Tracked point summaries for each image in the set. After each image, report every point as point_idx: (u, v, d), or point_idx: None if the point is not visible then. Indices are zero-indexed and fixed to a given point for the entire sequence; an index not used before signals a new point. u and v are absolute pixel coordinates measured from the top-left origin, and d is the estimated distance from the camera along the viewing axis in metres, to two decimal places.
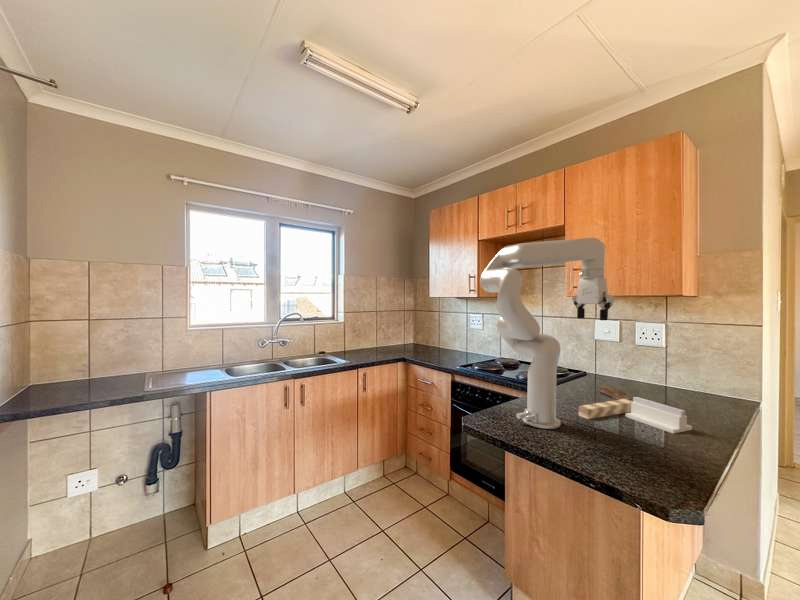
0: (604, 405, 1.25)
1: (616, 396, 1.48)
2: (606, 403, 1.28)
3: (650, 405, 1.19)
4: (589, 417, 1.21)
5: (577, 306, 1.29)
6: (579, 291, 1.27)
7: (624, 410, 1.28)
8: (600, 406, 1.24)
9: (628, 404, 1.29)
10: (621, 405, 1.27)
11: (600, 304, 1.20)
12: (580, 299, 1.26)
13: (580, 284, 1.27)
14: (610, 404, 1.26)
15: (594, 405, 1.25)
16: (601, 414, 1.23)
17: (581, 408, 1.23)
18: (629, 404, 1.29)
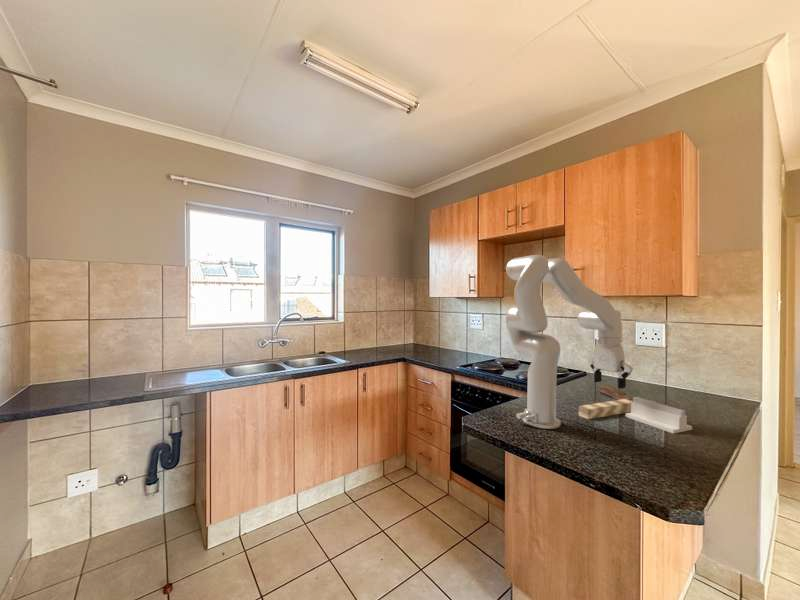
0: (604, 405, 1.25)
1: (616, 396, 1.48)
2: (606, 403, 1.28)
3: (650, 405, 1.19)
4: (589, 417, 1.21)
5: (594, 370, 1.32)
6: (596, 356, 1.29)
7: (625, 410, 1.28)
8: (601, 406, 1.24)
9: (628, 404, 1.29)
10: (621, 405, 1.27)
11: (618, 373, 1.23)
12: (597, 364, 1.29)
13: (597, 350, 1.29)
14: (610, 404, 1.26)
15: (594, 405, 1.25)
16: (601, 414, 1.23)
17: (581, 408, 1.23)
18: (629, 404, 1.29)
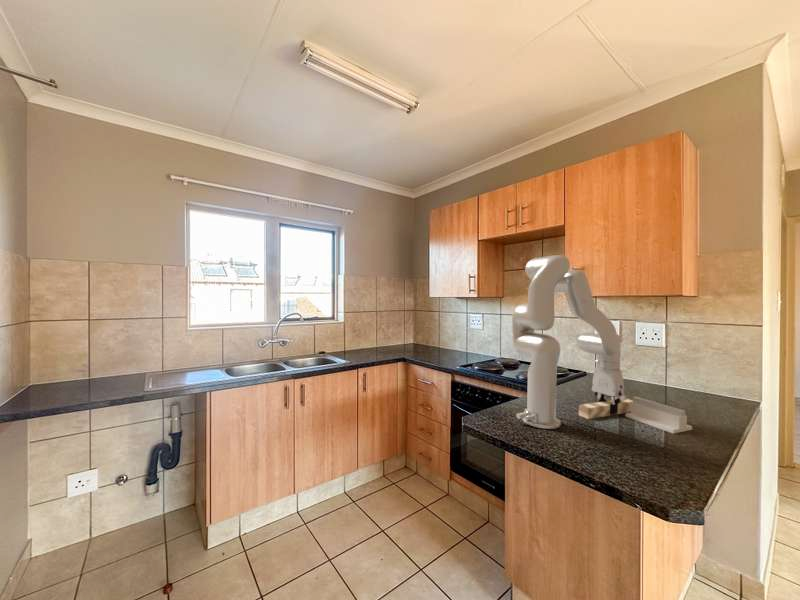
0: (604, 404, 1.25)
1: None
2: (606, 402, 1.28)
3: (650, 405, 1.19)
4: (589, 416, 1.21)
5: (598, 397, 1.30)
6: (595, 380, 1.29)
7: (625, 409, 1.28)
8: (601, 405, 1.24)
9: (629, 403, 1.29)
10: (622, 404, 1.27)
11: (612, 398, 1.24)
12: (596, 388, 1.29)
13: (596, 373, 1.29)
14: (610, 403, 1.26)
15: (594, 404, 1.25)
16: (601, 413, 1.23)
17: (581, 407, 1.24)
18: (630, 403, 1.29)
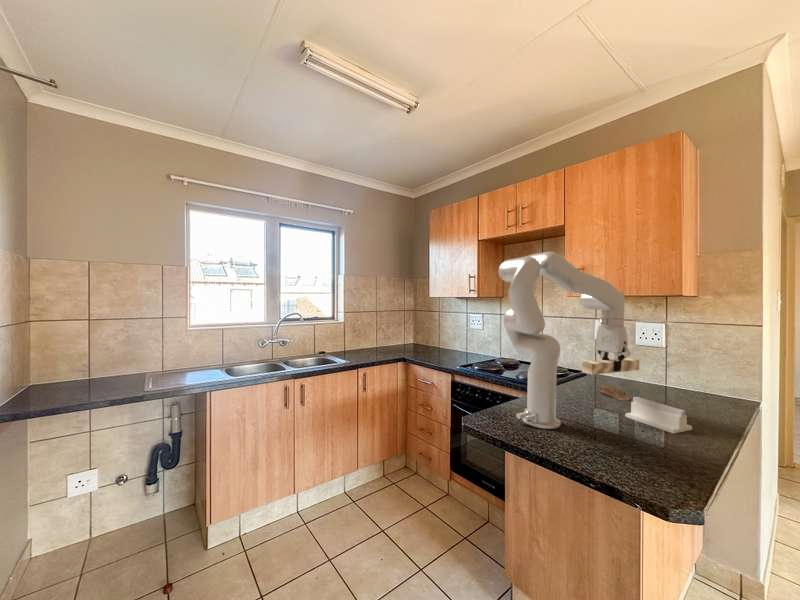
0: (608, 361, 1.24)
1: (616, 396, 1.48)
2: (610, 360, 1.27)
3: (650, 405, 1.19)
4: (593, 372, 1.20)
5: (602, 356, 1.29)
6: (598, 338, 1.28)
7: (629, 367, 1.27)
8: (604, 362, 1.23)
9: (632, 362, 1.28)
10: (625, 362, 1.26)
11: (616, 355, 1.23)
12: (599, 346, 1.28)
13: (599, 331, 1.28)
14: None
15: (598, 361, 1.24)
16: (605, 369, 1.22)
17: (584, 363, 1.23)
18: (633, 362, 1.28)
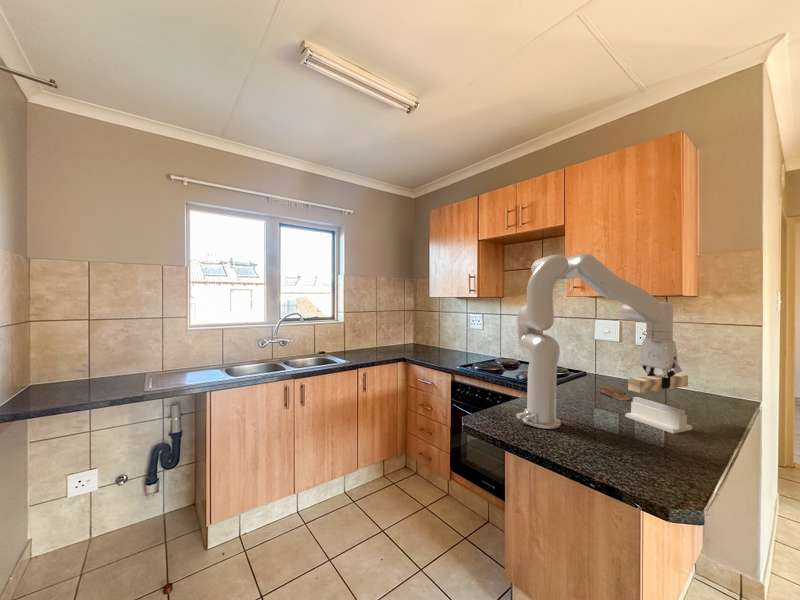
0: (655, 378, 1.16)
1: (616, 396, 1.48)
2: (657, 376, 1.18)
3: (650, 405, 1.19)
4: (641, 390, 1.12)
5: (647, 372, 1.20)
6: (644, 352, 1.20)
7: (677, 383, 1.18)
8: (652, 379, 1.14)
9: (681, 377, 1.19)
10: (674, 378, 1.18)
11: (664, 371, 1.15)
12: (645, 361, 1.19)
13: (645, 345, 1.19)
14: None
15: (645, 378, 1.16)
16: (653, 386, 1.14)
17: (631, 380, 1.14)
18: (682, 377, 1.19)
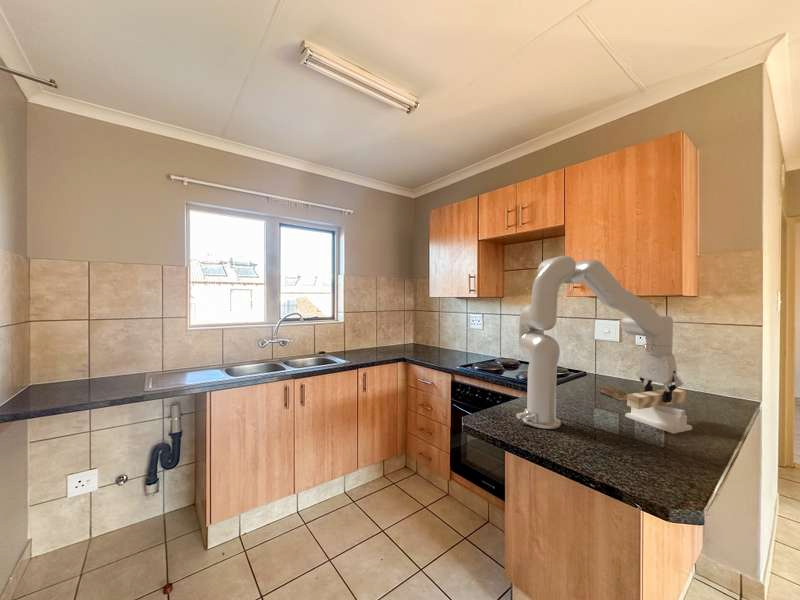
0: (654, 394, 1.16)
1: (616, 396, 1.48)
2: (656, 392, 1.18)
3: None
4: (640, 406, 1.12)
5: (644, 384, 1.21)
6: (643, 365, 1.20)
7: (676, 399, 1.18)
8: (651, 395, 1.14)
9: (680, 393, 1.19)
10: (672, 394, 1.18)
11: (665, 385, 1.14)
12: (644, 374, 1.19)
13: (644, 358, 1.20)
14: (661, 393, 1.17)
15: (644, 394, 1.16)
16: (652, 403, 1.14)
17: (630, 396, 1.14)
18: (681, 393, 1.19)
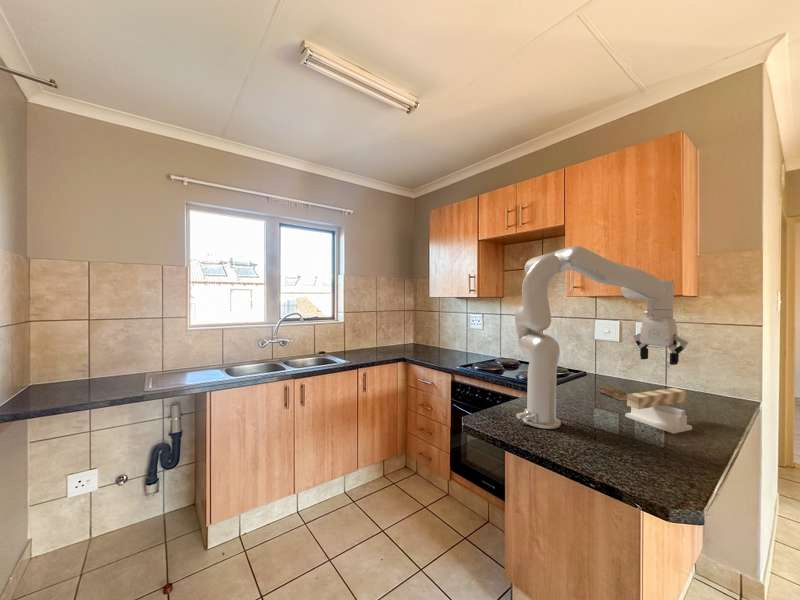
0: (654, 394, 1.16)
1: (617, 396, 1.48)
2: (656, 392, 1.18)
3: None
4: (640, 406, 1.12)
5: (640, 346, 1.22)
6: (644, 331, 1.20)
7: (676, 399, 1.18)
8: (651, 395, 1.14)
9: (680, 393, 1.19)
10: (672, 394, 1.18)
11: (670, 347, 1.13)
12: (645, 340, 1.19)
13: (645, 324, 1.19)
14: (661, 393, 1.17)
15: (644, 394, 1.16)
16: (652, 403, 1.14)
17: (630, 396, 1.14)
18: (681, 393, 1.19)
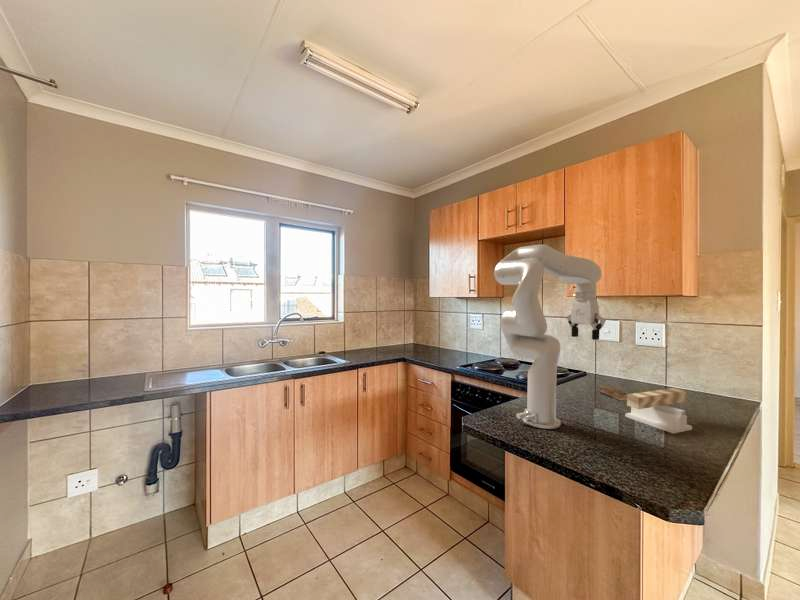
0: (654, 394, 1.16)
1: (617, 396, 1.48)
2: (656, 392, 1.18)
3: None
4: (640, 406, 1.12)
5: (571, 325, 1.39)
6: (573, 311, 1.37)
7: (676, 399, 1.18)
8: (651, 395, 1.14)
9: (680, 393, 1.19)
10: (672, 394, 1.18)
11: (592, 325, 1.30)
12: (574, 319, 1.36)
13: (574, 305, 1.36)
14: (661, 393, 1.17)
15: (644, 394, 1.16)
16: (652, 403, 1.14)
17: (630, 396, 1.14)
18: (681, 393, 1.19)
